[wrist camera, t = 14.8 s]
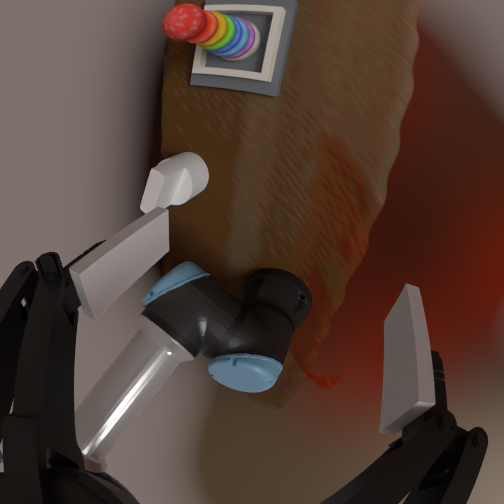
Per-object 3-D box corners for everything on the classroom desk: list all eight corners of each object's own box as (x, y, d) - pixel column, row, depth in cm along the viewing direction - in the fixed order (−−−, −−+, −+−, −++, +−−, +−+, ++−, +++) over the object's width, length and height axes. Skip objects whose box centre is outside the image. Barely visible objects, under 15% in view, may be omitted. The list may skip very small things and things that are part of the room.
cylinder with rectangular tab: (198, 202, 55) (164, 227, 45) (166, 180, 55) (128, 200, 45) (215, 166, 49) (179, 185, 40) (179, 144, 49) (139, 158, 40)
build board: (278, 97, 39) (272, 96, 36) (194, 84, 42) (183, 84, 39) (298, 3, 29) (293, -4, 26) (210, 0, 32) (200, -5, 29)
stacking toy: (209, 52, 36) (133, 39, 22) (230, 15, 32) (161, -17, 17) (247, 69, 36) (181, 55, 22) (270, 30, 32) (215, -7, 17)
